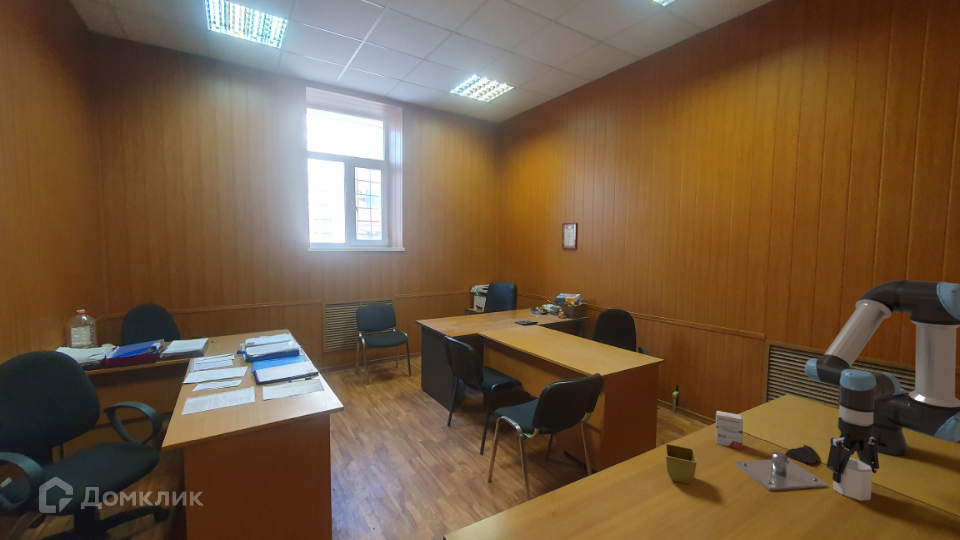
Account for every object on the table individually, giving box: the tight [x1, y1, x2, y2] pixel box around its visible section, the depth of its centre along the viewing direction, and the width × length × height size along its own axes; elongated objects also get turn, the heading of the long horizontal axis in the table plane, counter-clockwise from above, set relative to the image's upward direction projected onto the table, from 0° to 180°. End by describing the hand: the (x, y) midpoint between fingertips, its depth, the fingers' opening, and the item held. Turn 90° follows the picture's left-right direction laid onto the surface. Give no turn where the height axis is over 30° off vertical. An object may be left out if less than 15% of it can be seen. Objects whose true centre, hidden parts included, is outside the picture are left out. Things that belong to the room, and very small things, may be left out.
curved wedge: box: [784, 444, 819, 467], centre depth 136 cm, size 8×14×2 cm, turn 121°
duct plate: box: [734, 451, 828, 492], centre depth 124 cm, size 20×14×7 cm
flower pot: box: [664, 443, 698, 484], centre depth 123 cm, size 9×9×9 cm
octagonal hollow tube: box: [843, 457, 873, 501], centre depth 116 cm, size 8×8×9 cm
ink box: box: [715, 410, 744, 450], centre depth 144 cm, size 9×5×12 cm, turn 58°
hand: (851, 490), depth 116 cm, fingers closed on octagonal hollow tube, 8 cm apart
